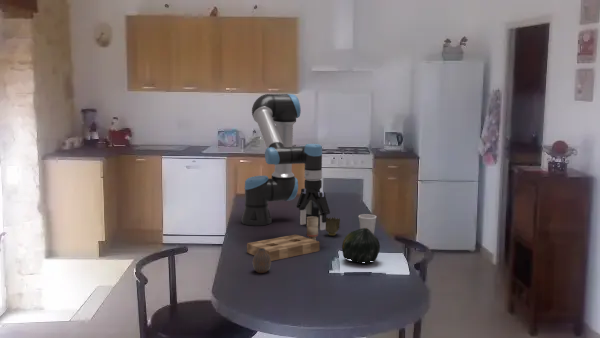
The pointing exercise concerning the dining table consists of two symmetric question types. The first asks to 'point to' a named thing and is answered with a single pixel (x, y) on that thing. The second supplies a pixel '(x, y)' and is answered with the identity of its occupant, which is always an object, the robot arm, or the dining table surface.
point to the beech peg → (312, 227)
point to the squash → (361, 246)
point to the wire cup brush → (332, 226)
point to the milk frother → (312, 211)
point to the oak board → (285, 246)
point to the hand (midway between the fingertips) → (312, 227)
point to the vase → (261, 261)
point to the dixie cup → (367, 221)
